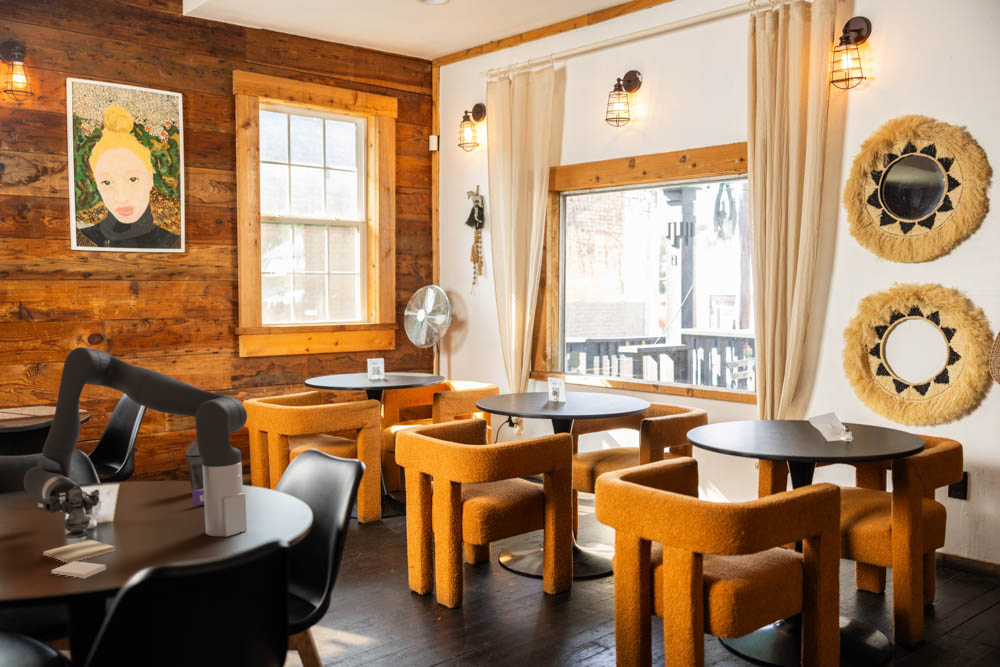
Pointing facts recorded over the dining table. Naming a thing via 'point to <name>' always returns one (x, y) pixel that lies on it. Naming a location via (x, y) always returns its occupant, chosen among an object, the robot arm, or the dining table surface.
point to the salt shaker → (76, 516)
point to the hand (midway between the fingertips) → (79, 507)
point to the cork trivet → (79, 551)
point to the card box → (79, 569)
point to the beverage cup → (195, 466)
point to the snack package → (198, 497)
